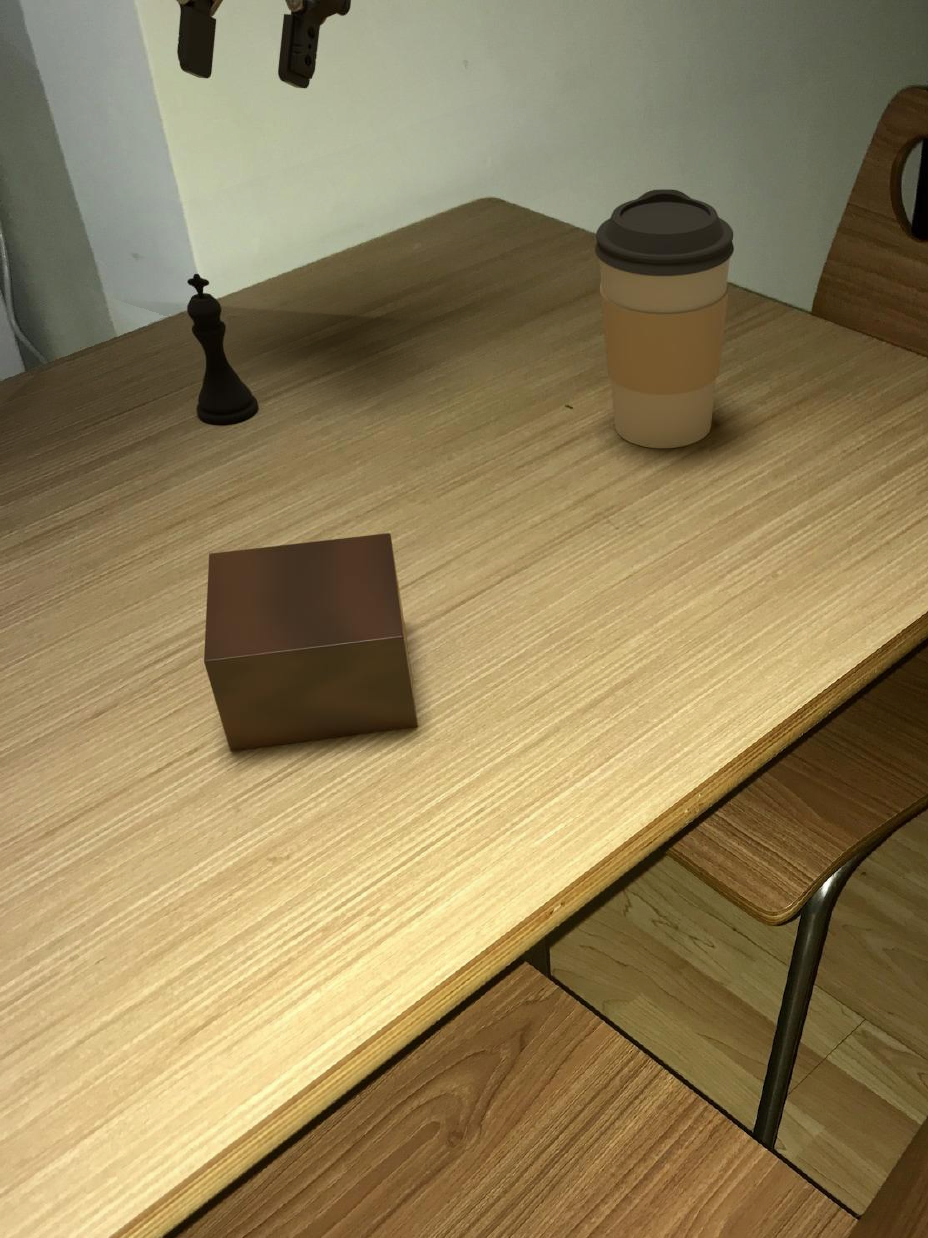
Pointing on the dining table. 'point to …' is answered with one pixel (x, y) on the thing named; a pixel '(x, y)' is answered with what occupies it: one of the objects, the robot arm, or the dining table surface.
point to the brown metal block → (307, 642)
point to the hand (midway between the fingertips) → (243, 79)
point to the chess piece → (217, 363)
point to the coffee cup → (664, 314)
